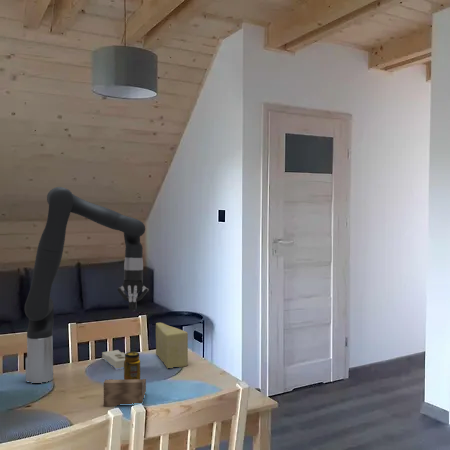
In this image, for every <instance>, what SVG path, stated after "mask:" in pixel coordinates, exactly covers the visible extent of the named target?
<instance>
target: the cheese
mask: <svg viewBox="0 0 450 450" xmlns="http://www.w3.org/2000/svg"><path fill="white" fill-rule="evenodd" d="M188 335H189V333H188V332H187V331H185V330H183V329H180V328H177V327H174V326H170V325H168V324H166V323H164V322H156V323H155V355H156V356H157V355H158V356H159V357H158V356H157V357H158V359H160V360H161V361H162V363H163V362H164V363H163V364H164V365H165V367H166V369H168V368H173V367H179V368H183V367H186V366H188V365H189V364H188V361H189V356H188V354H189V353H188V351H189V350H188V349H189V347H188V344H189V343H188V341H189V336H188ZM173 369H174V368H173Z"/></svg>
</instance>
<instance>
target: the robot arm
mask: <svg viewBox="0 0 450 450" xmlns="http://www.w3.org/2000/svg"><path fill="white" fill-rule="evenodd" d="M46 202H47V204H48V213H47V220H46V223H45V225H44V226H45V227H44V229H43V231H42V234H41V236H40V239H39V242H38V245H37V251H36V254H35V255H36V256H35V260H34V267H33V273H32V279H31V280H32V281H31V284H30V288H29V291H28V295H27V298H26V300H25V304H24V313H25V316H26V317H27V318H28V325H27V326H28V327H27V330H26V345H27V346H26V347H27V348H26V351H27V354H26V355H27V356H26V357H25V358H24V359H25V361H24V362H25V382H26V381H29V382H33V383H41V384H43V383H42V382H46V383H49V382H51V381H53V379H54V359H53V358H54V350H53V343H54V342H53V330H54V329H53V328H54V319H55V318H54V315H55V314H54V311H55V309H54V301H53V299H52V297H51V291H52V286H53V283H54V281H55V278H56V275H57V273H58V271H59V268H60V265H61V263H62V262H61V261H62V258H63V252H64V246H65V240H66V233H67V226H68V223H69V222H68V221H69V218H70V216H71V214H75V215H78V216H80V217H84V218H86V219H88V220H90V221H92V222H94V223H96V224H98V225H101V226H103V227H105V228H108V229H110V230H115V231H119V232H122V233H123V238H124V245H125V251H124V257H125V258H124V266H123V269H124V270H123V272H124V273H123V283H122V285H121V286H120V287H118V288H117V291H118V293H119V294H120V296H121V297H122V298H123V299H124V301H127V302H128V310H129V311H130V312H135V311H136V310H137V302H139V301H141V300H142V299H143V298H144V296H145V295H146V294H147V293H148V292H149V290H150V289H149V288H148V287H146V286H145V284H144V281H143V280H144V262H143V261H144V260H143V255H144V254H143V250H144V249H143V244H141V237H142V236H143V235H144V234H145V231H146V226H145V224H144V222H142V221H141V220H139V219H137V218H134V217H131V216H127V215H124V214H121V213H119V212H117V211H115V210H112V209H110V208H108V207H105V206H102V205H98V204H95V203H92V202H90V201H88V200H85V199H83V198H80V197H78V196H77V195H75V194H73V193H72V191H71V190H69V189H68V188H67V187H62V186H57V187H54V188H51V189H50V190H49V191H48V193H47V195H46ZM140 291H141V294H140V295H139V296H138V294H139V293H140ZM126 293H127V294H126ZM48 381H49V382H48Z"/></svg>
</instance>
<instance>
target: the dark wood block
mask: <svg viewBox="0 0 450 450" xmlns="http://www.w3.org/2000/svg"><path fill="white" fill-rule="evenodd" d="M145 392H146V393H147V379H146V378H142V379H141V378H140V379H128V380H124V379H112V378H111V379H105V380H104V382H103V407H118V406H117V405H120V404H132V403H133V404H134V403H142V402H143V398H144V395H145ZM145 396H146V395H145ZM143 403H144V402H143Z"/></svg>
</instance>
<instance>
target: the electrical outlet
mask: <svg viewBox="0 0 450 450" xmlns="http://www.w3.org/2000/svg"><path fill="white" fill-rule="evenodd" d="M101 354H102V355H101V359H102V358H104V359H106V360H107V361H108V362H109V363H110V364H111V365H113V366H114V367H115V368H121V367H124V361H125V354H126V353H125V352H121V351H120V350H119V349H115V350H109V351H103V352H101Z"/></svg>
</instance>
